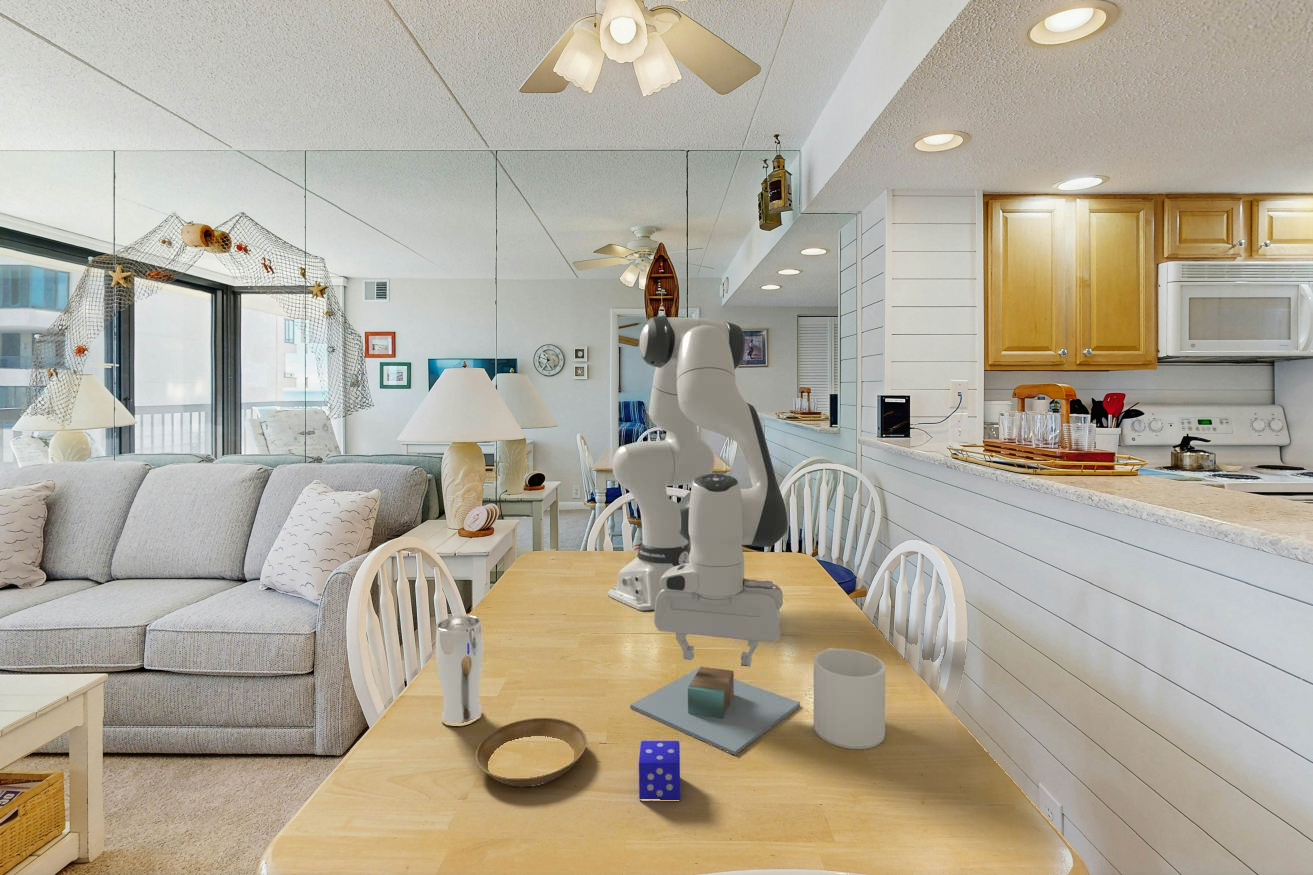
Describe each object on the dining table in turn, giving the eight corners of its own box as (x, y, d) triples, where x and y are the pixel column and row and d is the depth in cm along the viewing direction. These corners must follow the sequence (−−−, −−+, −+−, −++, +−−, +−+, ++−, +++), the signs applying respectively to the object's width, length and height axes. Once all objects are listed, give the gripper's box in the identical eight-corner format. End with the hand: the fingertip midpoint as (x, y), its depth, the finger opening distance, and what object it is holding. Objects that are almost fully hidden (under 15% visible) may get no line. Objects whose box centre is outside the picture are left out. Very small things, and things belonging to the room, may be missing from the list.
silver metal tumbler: (494, 709, 98) (491, 617, 97) (467, 732, 91) (463, 633, 90) (457, 703, 100) (454, 612, 99) (428, 724, 93) (424, 628, 93)
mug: (898, 747, 86) (898, 675, 85) (829, 752, 85) (829, 680, 84) (858, 703, 98) (858, 640, 98) (797, 707, 97) (797, 644, 97)
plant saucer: (484, 811, 74) (483, 790, 74) (469, 748, 87) (468, 730, 87) (601, 779, 80) (601, 760, 80) (570, 725, 93) (570, 708, 93)
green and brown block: (700, 666, 102) (687, 687, 94) (733, 670, 100) (722, 692, 93) (701, 689, 102) (688, 713, 95) (733, 694, 100) (723, 718, 93)
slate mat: (630, 708, 98) (630, 704, 98) (700, 670, 111) (700, 666, 111) (734, 755, 84) (734, 751, 84) (799, 705, 98) (799, 702, 98)
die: (641, 777, 80) (640, 739, 80) (679, 777, 80) (679, 739, 79) (639, 802, 75) (638, 762, 75) (680, 802, 75) (679, 762, 74)
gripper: (784, 576, 98) (784, 660, 99) (661, 567, 104) (662, 647, 105) (780, 588, 92) (780, 677, 93) (650, 578, 98) (651, 662, 99)
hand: (717, 661), depth 99 cm, fingers open, 8 cm apart
